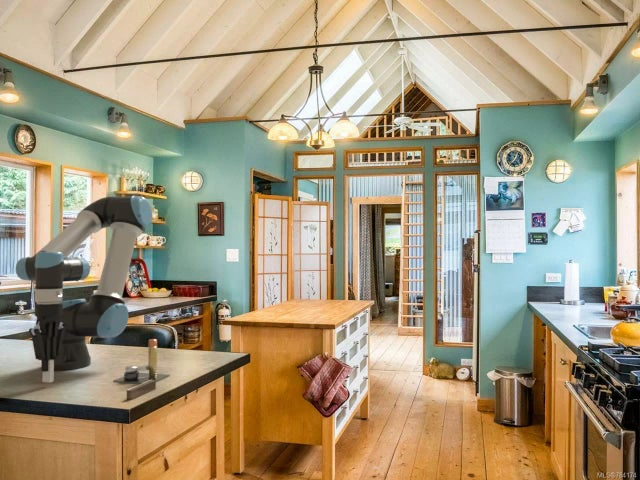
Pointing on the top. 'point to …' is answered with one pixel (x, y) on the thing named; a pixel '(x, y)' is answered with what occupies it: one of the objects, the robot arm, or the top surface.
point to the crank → (141, 368)
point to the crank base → (144, 377)
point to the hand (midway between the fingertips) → (47, 381)
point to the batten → (141, 389)
